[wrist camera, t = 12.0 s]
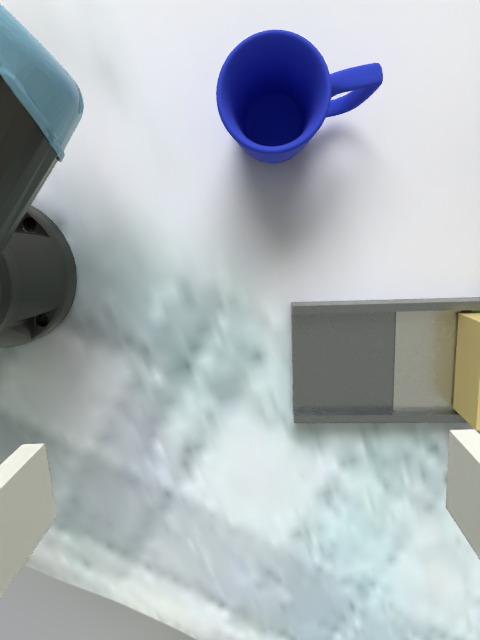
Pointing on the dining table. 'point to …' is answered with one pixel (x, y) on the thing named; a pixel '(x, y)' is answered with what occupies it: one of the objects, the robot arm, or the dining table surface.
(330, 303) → the tray
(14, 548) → the robot arm
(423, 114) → the dining table surface
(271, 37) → the mug
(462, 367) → the block
